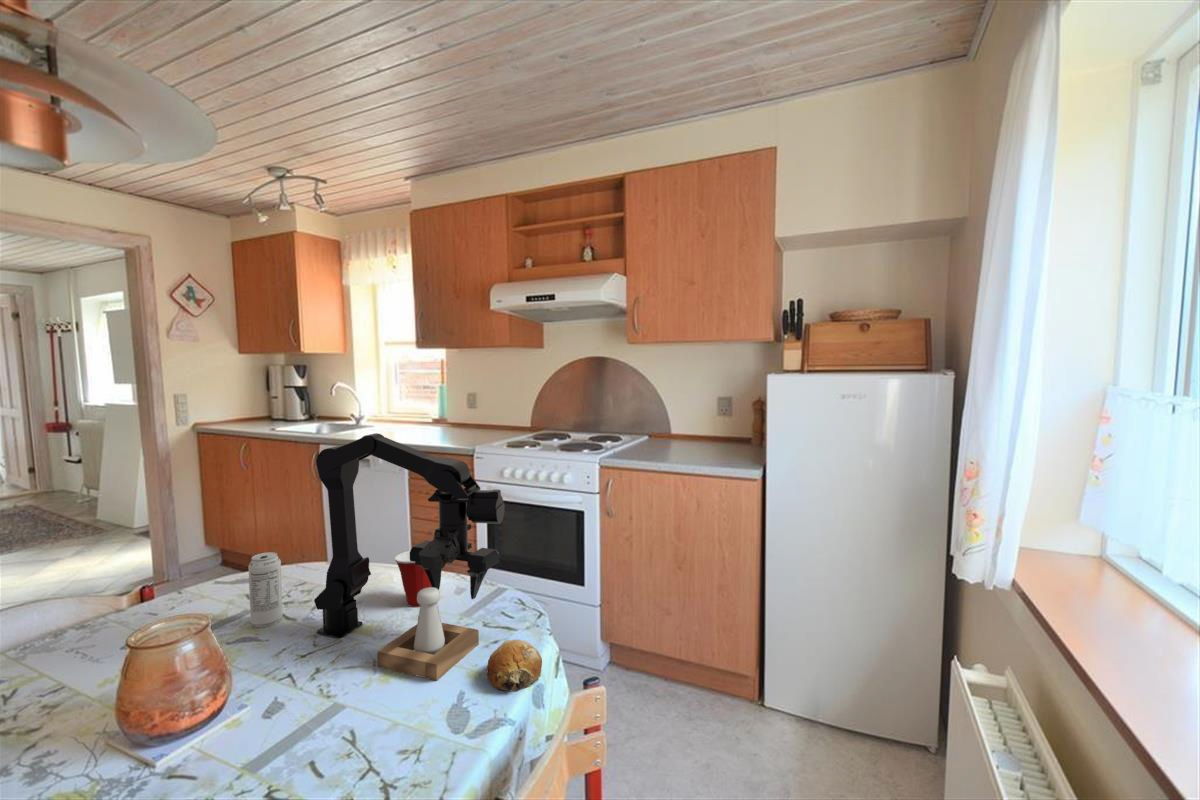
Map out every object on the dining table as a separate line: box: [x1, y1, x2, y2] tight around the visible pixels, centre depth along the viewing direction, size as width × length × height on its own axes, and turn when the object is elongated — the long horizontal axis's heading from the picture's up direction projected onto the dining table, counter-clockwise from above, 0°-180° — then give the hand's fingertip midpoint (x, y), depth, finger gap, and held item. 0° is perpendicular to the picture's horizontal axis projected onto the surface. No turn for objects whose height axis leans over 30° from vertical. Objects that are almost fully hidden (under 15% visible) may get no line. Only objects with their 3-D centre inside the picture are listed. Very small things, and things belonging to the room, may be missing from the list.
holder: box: [376, 622, 480, 681], centre depth 102 cm, size 13×13×3 cm
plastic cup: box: [394, 550, 432, 608], centre depth 125 cm, size 11×11×12 cm
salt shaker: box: [414, 587, 445, 655], centre depth 101 cm, size 6×6×13 cm
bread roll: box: [486, 639, 543, 692], centre depth 95 cm, size 10×10×8 cm
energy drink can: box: [247, 551, 284, 629], centre depth 115 cm, size 6×6×15 cm
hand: (454, 595), depth 109 cm, fingers open, 9 cm apart
